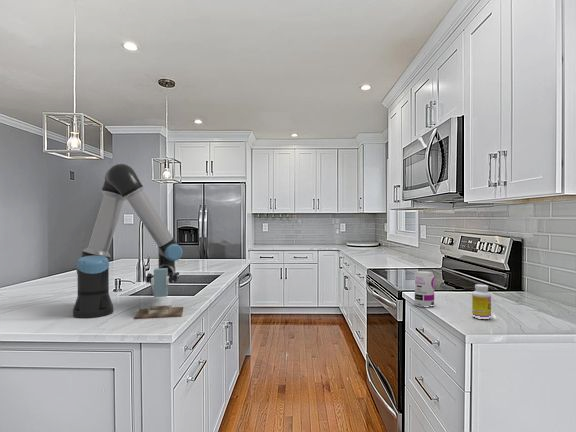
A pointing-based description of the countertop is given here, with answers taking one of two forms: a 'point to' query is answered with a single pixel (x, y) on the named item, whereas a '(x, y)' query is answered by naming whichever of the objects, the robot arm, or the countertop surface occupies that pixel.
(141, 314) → the board
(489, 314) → the supplement bottle
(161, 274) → the blue-grey tall block
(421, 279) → the supplement can
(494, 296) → the countertop surface
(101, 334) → the countertop surface
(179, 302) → the countertop surface
